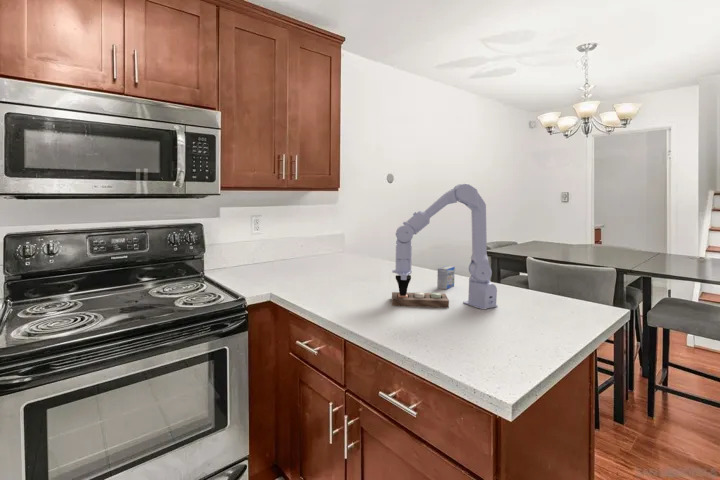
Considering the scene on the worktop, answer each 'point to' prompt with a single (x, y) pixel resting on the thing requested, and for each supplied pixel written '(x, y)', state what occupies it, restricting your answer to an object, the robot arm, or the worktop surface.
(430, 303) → the button panel
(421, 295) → the cream button
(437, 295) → the sage button
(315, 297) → the worktop surface
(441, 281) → the medicine box
